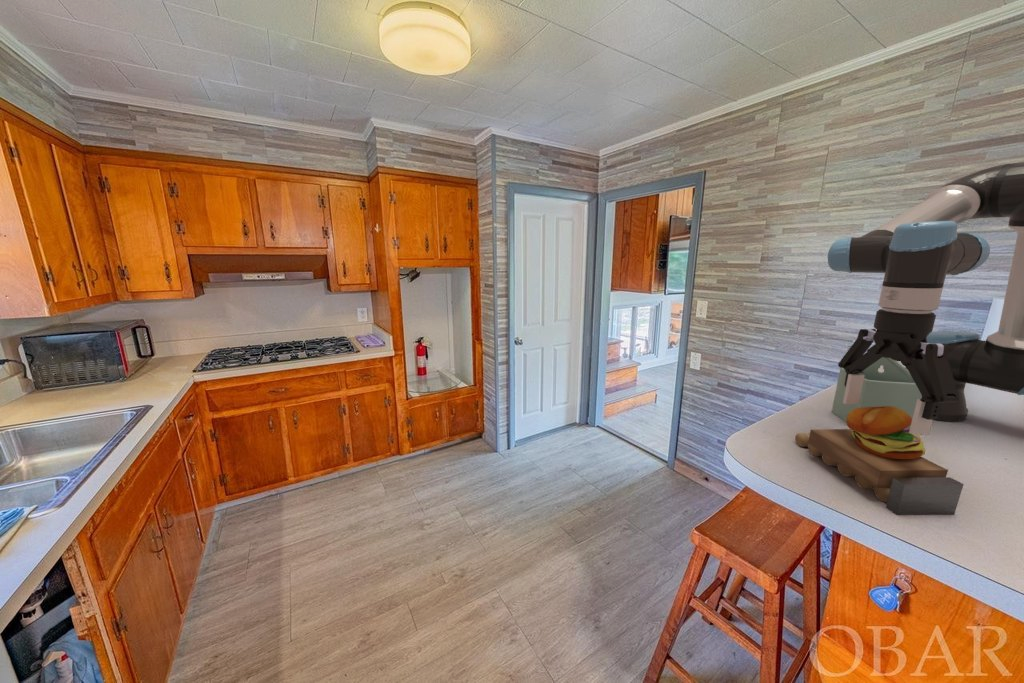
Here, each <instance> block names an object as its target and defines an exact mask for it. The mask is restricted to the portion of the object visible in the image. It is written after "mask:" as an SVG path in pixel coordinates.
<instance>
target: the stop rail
mask: <svg viewBox="0 0 1024 683" xmlns="http://www.w3.org/2000/svg"><path fill="white" fill-rule="evenodd" d="M963 488H964V483H963V482H960V481H958V480H956V479H954V478H953V477H950V476H949V477H948V476H946V477H936V478H893V480H892V484H891V488H890V492H889V496H888V500H887V502H886V504H885V508H886V509H887V510H889V511H891V512H892V513H893V514H895V515H896V516H901V515H902V516H912V515H914V516H922V515H923V516H925V515H926V516H927V515H928V516H930V515H931V516H933V515H934V516H935V515H936V516H937V515H939V516H940V515H941V516H943V515H955V514H956V510H957V507H958V504H959V501H960V497H961V494H962V491H963Z"/></svg>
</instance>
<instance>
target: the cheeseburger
mask: <svg viewBox="0 0 1024 683" xmlns="http://www.w3.org/2000/svg"><path fill="white" fill-rule="evenodd" d="M911 423H912V418H911V417H910V416H909V415H908V414H907V413H906V412H904V411H902V410H901V409H898V408H896V407H892V406H887V407H862V408H856V409H854V410H852V411H850V412H849V414H848V416H847V423H846V426H847V427H848V429H851V430H852V435H853V437H854V438H855V439H856V443H857V444H858V445H859V446H860V447H862V448H864V449H865V450H867V451H869V452H871V453H873V454H876V455H879V456H881V457H886V458H891V459H914V458H918V457H923V456H924V455H925V454H926V449H925V445H924V441H923V440H922V437H921V435H913V434H910V433H909V431H910V428H908V426H910V425H911Z"/></svg>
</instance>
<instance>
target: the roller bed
mask: <svg viewBox="0 0 1024 683" xmlns="http://www.w3.org/2000/svg"><path fill="white" fill-rule="evenodd" d="M809 436H810V432H808V433H807V432H806V433H801V432H800V433H796V434H795V436H794V437H795V438H794V439H795V443H796V445H797V446H799V447H807V449H808V452H809V453H810V454H811V455H813V456H821V457H822V460H823V462H824V464H826V466H827V465H828V466H837V469H838V471H839V473H840V474H841V475H842V476H844V477H854V480H855V482H856V484H857V485H858V486H859V487H860V488H862V489H873V490H874V494H875V496H876V498H877V499H878V500H880V501H881V502H884V503H887V500H888V496H889V492H890V488H876V487H875V486H873V485H872V484H870V483H868V482H867V481H865V480H864V479H862V478H861V477H859V476H857V475H856V474H854V473H853V472H851V471H850V470H848V469H847V468H845V467H843V466H842V465H840V464H839V463H837V462H836V461H834V460H833V459H831V458H829V457H828V456H826V455H825V454H823V453H822V452H820V451H818V450H817V449H815V448H814V447H812V446H811V445H809V444H808V441H809Z"/></svg>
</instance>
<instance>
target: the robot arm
mask: <svg viewBox="0 0 1024 683" xmlns="http://www.w3.org/2000/svg"><path fill="white" fill-rule="evenodd" d="M990 218H991V219H993V218H994V219H995V218H999V219H1001V218H1009V219H1008V228H1010V229H1012V230H1013V231H1015V232H1016V233H1017V235H1016V241H1015V245H1014V251H1013V256H1012V261H1011V265H1010V270H1009V275H1008V281H1007V285H1006V289H1005V290H1006V291H1005V295H1004V300H1003V304H1002V309H1001V310H1002V311H1001V315H1000V320H999V325H998V330H996V332H994V333H992V334H989V335H988V336H987V337H986V339H985V340H982V339H981V337H980V334H979V333H976V332H968V331H941V330H940V331H933V330H934V326H935V322H936V317H937V314H935V313H934V312H933V311H937V310H938V309H939V305H940V302H941V299H942V298H941V297H942V294H943V288H944V283H945V280H946V276H947V275H948V276H950V275H951V276H958V275H960V274H964V273H968V272H971V271H973V270H974V271H975V270H976V269H977V268H979V267H981V266H982V265H983V264H984V263H985V262H987V260H988V258H989V256H990V255H991V247H990V244H989V242H988V241H987V240H986V239H985V238H984V237H982V236H980V235H977V234H973V233H969V232H957V231H958V225H959V224H962V223H964V222H966V221H968V220H975V219H976V220H978V219H990ZM827 264H828V267H829V269H831V270H833V271H835V272H844V273H858V274H859V273H861V274H862V273H864V274H865V273H867V274H868V273H869V274H871V273H873V274H874V273H875V274H884V277H883V281H882V286H881V290H880V291H881V292H880V294H879V300H878V304H877V305H878V306H879V307H880V308H881V309H878V310H877V311H876V313H875V318H874V322H873V328H860V329H859V332H858V335H857V337H856V339H855V341H854V342H853V344H852V345H851V346H850V347H849V348H848V350H847V352H846V353H845V354H844V355H843V357H842V358H841V360H839V362H838V363H837V364H838V367H839V369H840V368H843V369H845V372H846V378H845V383H844V385H845V387H846V389H845V394H844V399H843V403H844V404H859V400H860V395H861V390H862V386H863V381H864V376H865V375H863V374H858V373H864V372H862V371H863V370H865V369H866V368H868V367H869V366H870V365H872V364H873V363H875V362H876V361H878V360H879V359H880V358H882V357H884V358H891V359H893V360H895V361H897V362H900V364H901V365H902V366H903V367H905V368H906V369H907V370H908V371H909V373H910V375H911V376H912V378H913V380H914V382H915V384H916V386H917V387H918V389H919V391H920V393H921V395H922V398H921V399H917V403H916V407H915V411H914V415H913V419H912V423H911V427H910V431H909V433H910V434H913V435H919V436H921V435H923V436H924V435H925V436H926V435H930V431H931V427H932V425H933V420H935V421H943V422H963V421H966V420H967V418H968V415H969V409H968V407H967V401H966V395H965V387H966V384H970V385H975V386H978V387H983V388H989V389H992V390H993V389H994V390H998V391H1001V392H1002V391H1003V392H1007V393H1012V394H1015V395H1016V394H1017V396H1024V161H1021V162H1020V161H1019V162H1014V163H1006V164H999V165H995V166H990V167H987V168H984V169H981V170H978V171H974V172H972V173H970V174H967V175H965V176H962V177H959V178H957V179H954V180H952V181H951V182H948V183H946V184H943V185H942V186H940V187H938V188H937V189H935V190H933V191H932V192H931V193H929V194H928V195H927V196H926V197H925V198H924V200H923V201H922V202H921V203H919V204H917V205H915V206H913V207H912V208H910V209H908V210H906V211H905V212H902V213H901V214H899V215H897V216H895V217H893V218H892V219H889V221H886V222H884V224H881V225H880V226H878V227H876V228H874V229H873V230H871V231H869V232H867V233H866V234H864V235H862V236H858V237H854V236H850V237H844V238H840V239H839V238H838V239H837V240H835V241H834V242H833V243H832V244H831V246H830V248H829V249H828V253H827ZM873 343H874V344H873Z"/></svg>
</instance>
